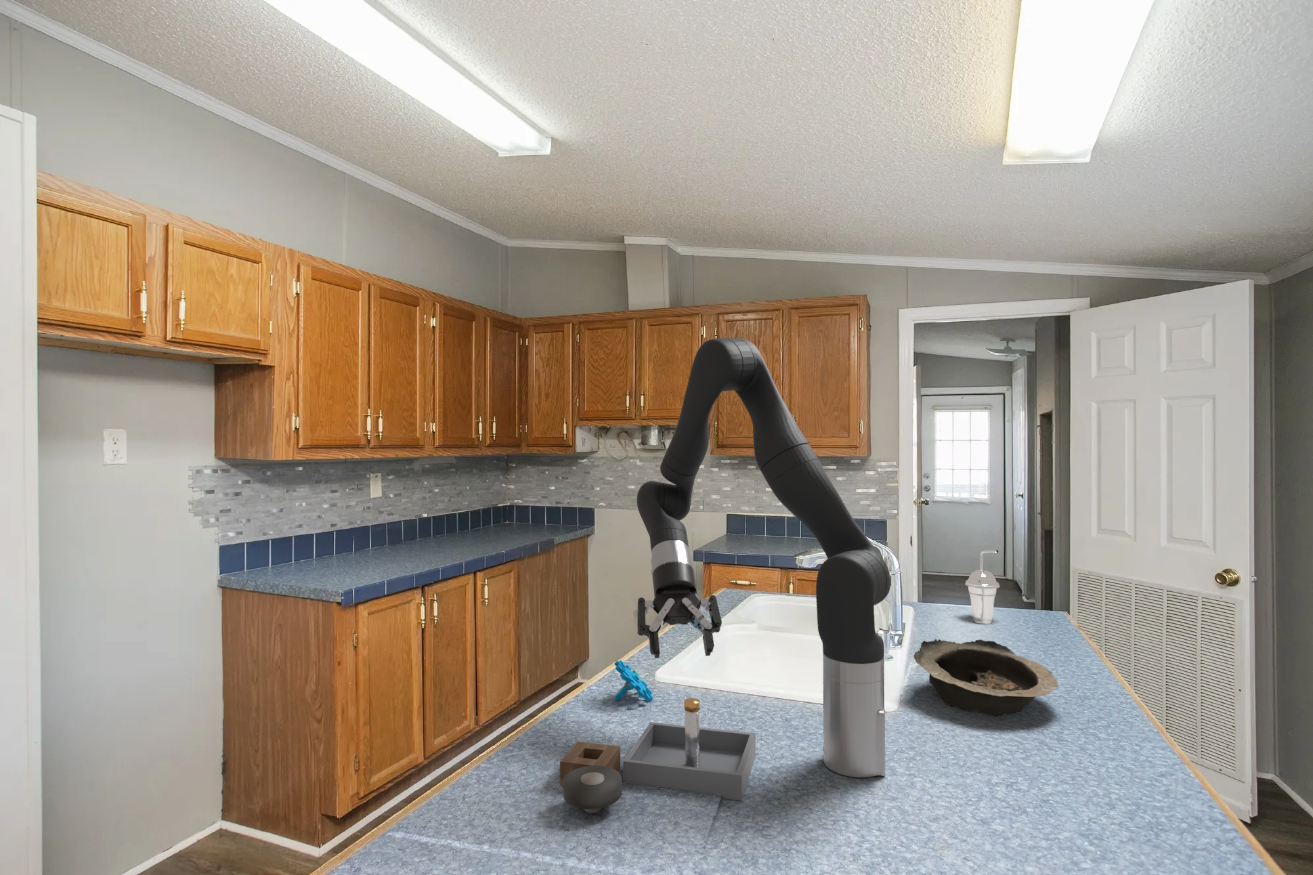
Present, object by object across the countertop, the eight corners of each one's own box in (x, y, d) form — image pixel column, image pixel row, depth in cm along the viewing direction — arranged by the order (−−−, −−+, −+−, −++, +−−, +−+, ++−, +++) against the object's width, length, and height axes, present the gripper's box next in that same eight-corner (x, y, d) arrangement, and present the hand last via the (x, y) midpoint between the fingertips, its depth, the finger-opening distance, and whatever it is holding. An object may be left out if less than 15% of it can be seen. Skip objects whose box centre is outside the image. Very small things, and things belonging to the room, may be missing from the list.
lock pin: (701, 762, 112) (701, 698, 112) (698, 769, 110) (697, 704, 110) (686, 761, 113) (686, 697, 113) (683, 768, 111) (682, 703, 111)
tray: (755, 755, 116) (755, 733, 116) (741, 800, 102) (741, 775, 102) (650, 743, 121) (650, 722, 121) (623, 785, 107) (623, 761, 107)
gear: (654, 701, 135) (616, 662, 136) (631, 725, 134) (594, 685, 136) (657, 688, 146) (623, 652, 147) (637, 710, 145) (602, 673, 147)
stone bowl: (918, 670, 155) (922, 628, 154) (1051, 697, 144) (1055, 652, 144) (904, 710, 132) (908, 660, 132) (1059, 746, 122) (1064, 691, 121)
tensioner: (644, 775, 110) (644, 744, 110) (610, 831, 95) (610, 795, 94) (577, 766, 113) (577, 736, 113) (534, 819, 97) (534, 785, 97)
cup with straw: (992, 617, 198) (992, 544, 197) (1005, 626, 189) (1005, 550, 188) (960, 617, 198) (960, 544, 198) (971, 626, 189) (971, 550, 189)
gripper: (634, 561, 127) (641, 645, 116) (714, 558, 128) (728, 641, 117) (632, 584, 132) (638, 667, 121) (708, 582, 134) (722, 663, 123)
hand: (683, 654), depth 119 cm, fingers open, 8 cm apart
